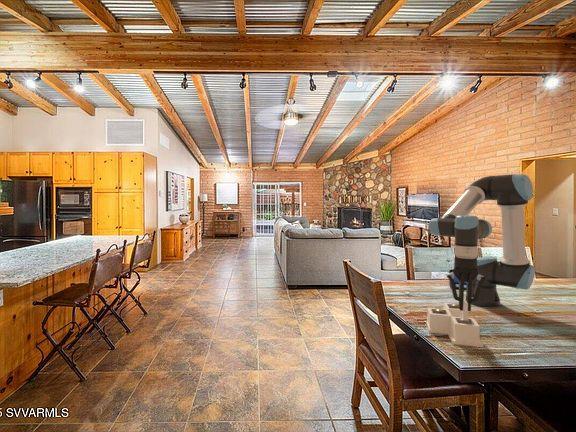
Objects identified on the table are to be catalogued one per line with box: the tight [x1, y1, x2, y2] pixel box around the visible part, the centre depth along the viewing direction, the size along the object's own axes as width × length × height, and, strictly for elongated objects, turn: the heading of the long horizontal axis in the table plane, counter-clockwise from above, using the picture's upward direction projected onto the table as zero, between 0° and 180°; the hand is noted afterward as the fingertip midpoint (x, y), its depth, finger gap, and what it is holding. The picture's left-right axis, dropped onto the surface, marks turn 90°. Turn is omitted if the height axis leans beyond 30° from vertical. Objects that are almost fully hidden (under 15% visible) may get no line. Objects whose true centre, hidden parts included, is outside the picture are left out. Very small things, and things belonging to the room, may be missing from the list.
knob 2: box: [458, 318, 471, 324], centre depth 119 cm, size 4×4×6 cm
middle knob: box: [433, 307, 445, 314], centre depth 129 cm, size 4×4×6 cm
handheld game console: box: [448, 269, 467, 291], centre depth 190 cm, size 16×13×9 cm
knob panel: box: [425, 302, 484, 348], centre depth 128 cm, size 17×27×7 cm, turn 163°
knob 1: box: [450, 303, 459, 309], centre depth 135 cm, size 4×4×6 cm
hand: (464, 318), depth 119 cm, fingers closed
